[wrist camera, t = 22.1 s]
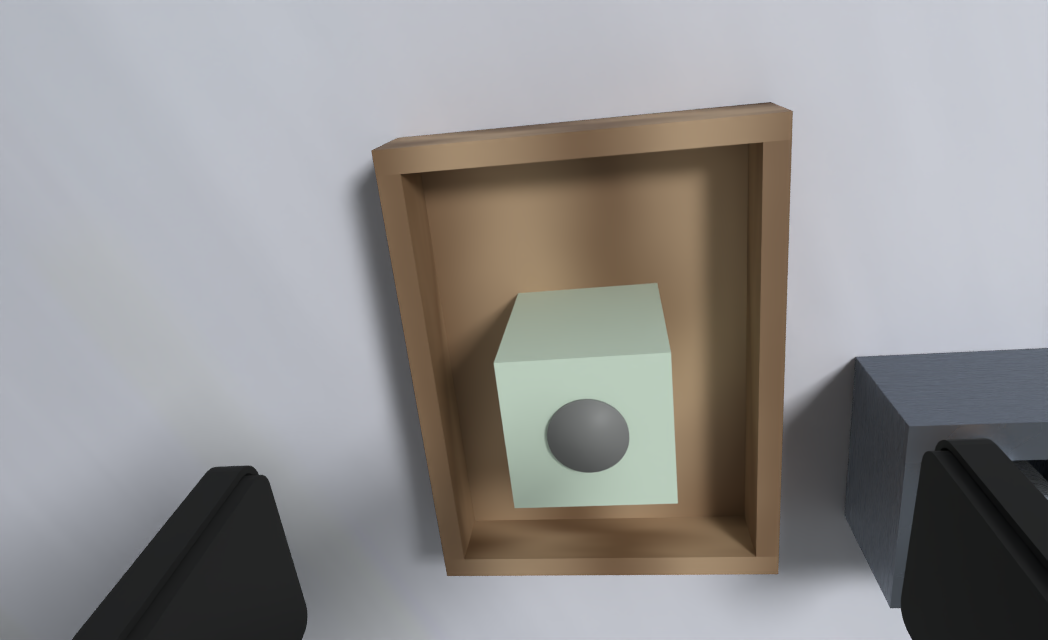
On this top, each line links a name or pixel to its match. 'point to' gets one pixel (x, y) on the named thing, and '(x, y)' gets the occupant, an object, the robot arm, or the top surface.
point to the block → (932, 435)
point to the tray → (588, 262)
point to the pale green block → (588, 398)
